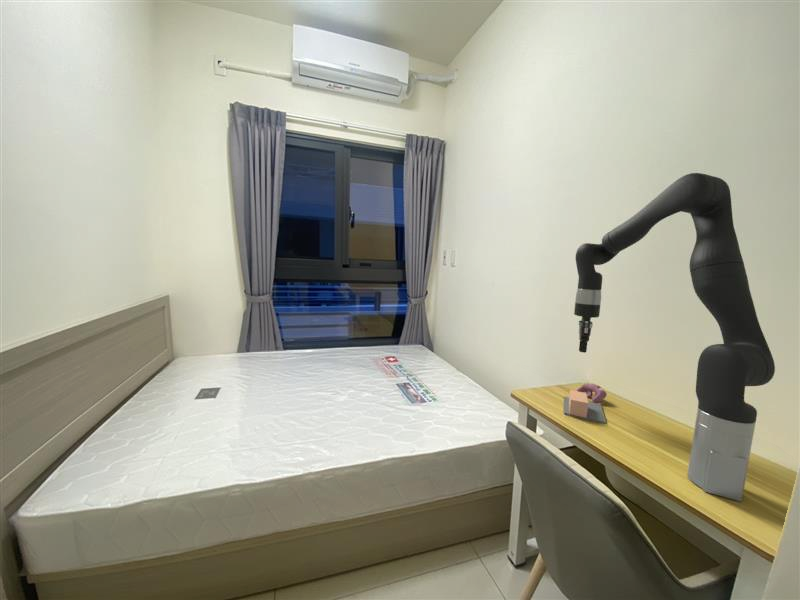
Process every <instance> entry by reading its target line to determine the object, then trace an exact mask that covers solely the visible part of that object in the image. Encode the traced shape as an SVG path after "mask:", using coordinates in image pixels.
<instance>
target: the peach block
mask: <svg viewBox="0 0 800 600" xmlns="http://www.w3.org/2000/svg"><path fill="white" fill-rule="evenodd" d="M588 402H589V400H588V397H587V394H586V392H585V393H584V392H578V391H576V390H573V389H570V391H569V414H572V415H576V416H581V417H585V418H587V410H588Z"/></svg>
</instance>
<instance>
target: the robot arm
mask: <svg viewBox="0 0 800 600" xmlns="http://www.w3.org/2000/svg"><path fill="white" fill-rule="evenodd" d="M732 206H733V205H732V196H731V191H730V186H729V184H728V183H727V182H726V180H724V179H722V178H720V177H717V176H713V175H709V174H705V173H701V172H700V173H699V172H691V173H688V174H685V175H683V176H681V177H680V178H678V179H676V180H675V181H673V182H672V183H671V184H670V185H669V186H668V187H666V188H665V189H664V190H663V191H661V193H660V194H658V195H657V196H656V197H655V198H654V199H652V200H651V201H650V202H649V203H648V204H646V205H645V206H644V207H643V208H641V209H640V210H639V211H638V212H636V213H635V214H634V215H633V216H631V217H630V218H628V219H627V220H626V221H624V222H623V223H621V224H619V225H618V226H616V227H614V228H613V229H612V230H610V231H609V232H607V233H606V234H604V235H603V237H602V239H601V243H589V242H588V243H587V242H585V243H582V244H581V245H580V246H579V247H578V248H577V250H576V251H575V264H576V269H577V270H576V271H577V275H578V283H577V289H576V290H577V291H576V293H575V301H574V311H573V315H575V316H577V317H581V320H578V334H579V335H578V340H579V344H578V345H579V346H578V351H579V352H580V353H584V354H586V353H587V352H588V351H587V350H588V342H589V341H590V336H591V334H592V333H591V332H592V328H593V326H594V325H593V321H591V319H592V318H599V317H600V313H601V302H602V285H603V274H602V273H600V272H597V271H596V267H595V266H601V265H604V264H607V263H609V262H610V261H612V260H613V259H614V258H615V257H616V256H617V255H618V254H619V253H620V252H621V251H624V250H625V249H627V248H630V247H631V246H633V245H634V244H635V245H636V244H637V243H638V242H640V241H641V240H642V239H644V238H645V237H646V236H647V234H648V233H649V232H650V231H651V230H652V228H654V226H656V225H657V224H658V223H659V222H661V221H663V220H665V219H666V218H668V217H670V216H673V215H676V214H677V213H680V212H682V213H687V214H690V216H691V218H692V221H693V225H694V228H695V234H696V239H695V244H694V247H693V250H692V252H691V255H690V258H689V259H690V260H689V272H690V278H691V283H692V287H693V290H694V292H695V295H696V296H697V297H698V299H699V301H701V303H702V304H703V305H704V307H706V309H707V311H709V313H710V314H711V315H712V316H713V318H714V319H715V321H716V323H717V324H718V327H719V329H720V331H721V332H720V333H721V337H722V340H723V342H722V343H716V344H711V345H709V346H708V345H707V347H705V348H704V349H703V350H702V352H701V353H700V355H699V358H698V361H697V368H696V370H697V371H696V381H695V395H696V398H697V400H698V401H697V402H698V403H697V413H696V418H695V421H694V422H695V423H694V430H693V436H692V442H691V450H690V455H689V462H688V469H687V477H688V479H689V480H690V482H692V483H693V484H695V485H696V486H697V487H699V488H700V489H702V491H704V492H706V493H709V494H712V495H716V496H719V497H723V498H727V499H730V500H734V501H738V502H742V500H743V496H744V490H745V485H746V480H747V479H746V478H747V473H748V468H749V463H750V456H751V451H752V444H753V439H754V434H755V428H756V422H757V417H758V410H757V409H756V408H755V406H754V405H751V404H749V403H748V402H746V401H745V393H746V392H745V391H746V387H760V386H764V385H767V384H768V383H770V381H772V379H773V378H774V375H775V373H776V372H775V371H776V366H775V361H774V357H773V354H772V352H771V350H770V347H769V344H768V342H767V340H766V338H765V334H764V333H763V330H762V327H761V325H760V322H759V319H758V315H757V312H756V311H757V310H756V308H755V304H754V301H753V297H752V293H751V289H750V285H749V284H750V283H749V279H748V275H747V271H746V267H745V261H744V259H743V256H742V253H741V248H740V245H739V239H738V236H737V232H736V229H735V226H734V218H733V208H732Z"/></svg>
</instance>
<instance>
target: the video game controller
mask: <svg viewBox="0 0 800 600" xmlns="http://www.w3.org/2000/svg"><path fill="white" fill-rule="evenodd" d="M575 391H578V392H584V393H586V394H587V398H589V397H590V398H591V399H592V400H591V402H593V403H598V404H600V402H602V400H604V399H605V398H606V397H607V394H608V393H607V392H606V390H604V388H603V387H601V386H600V385H598V384H596V383H591V382H586V383H583V384H582V385H581V386H579V387H578V388H577V389H576V390H575Z"/></svg>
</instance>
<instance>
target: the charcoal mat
mask: <svg viewBox="0 0 800 600" xmlns="http://www.w3.org/2000/svg"><path fill="white" fill-rule="evenodd" d="M569 397H570V396H569ZM569 397H568V396H563V415H564V414H565V415H566V416H569V417H573V418H578V419H583V420H587V421H592V422H596V423H600V424H607V420H606V417H605V414H604V413H605V412H604V410H603V407H602V403H593V402H592V401H588V410H587V418H585V417H581V416H576V415H572V414H569Z"/></svg>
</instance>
